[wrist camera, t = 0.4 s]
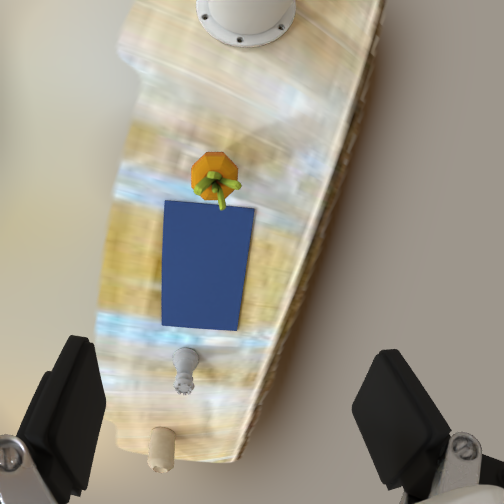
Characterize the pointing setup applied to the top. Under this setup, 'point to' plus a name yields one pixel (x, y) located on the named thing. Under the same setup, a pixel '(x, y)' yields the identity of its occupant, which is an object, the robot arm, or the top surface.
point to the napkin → (204, 264)
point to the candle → (161, 449)
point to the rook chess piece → (184, 369)
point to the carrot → (214, 177)
